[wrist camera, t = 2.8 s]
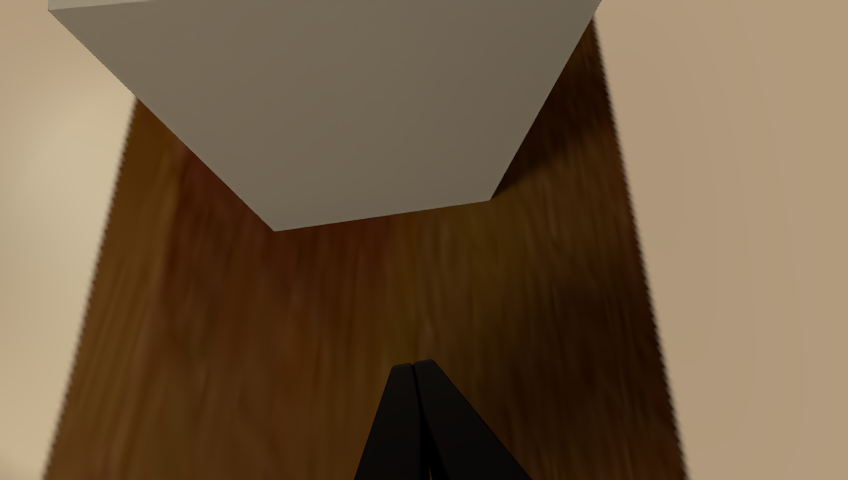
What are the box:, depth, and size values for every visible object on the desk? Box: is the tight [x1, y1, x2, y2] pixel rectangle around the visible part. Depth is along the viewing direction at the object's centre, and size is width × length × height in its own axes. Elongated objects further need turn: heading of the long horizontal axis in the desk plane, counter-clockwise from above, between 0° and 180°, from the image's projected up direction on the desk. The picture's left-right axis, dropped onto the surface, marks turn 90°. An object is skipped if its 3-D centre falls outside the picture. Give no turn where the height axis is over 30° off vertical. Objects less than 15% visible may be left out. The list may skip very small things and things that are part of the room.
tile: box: [48, 0, 601, 231], centre depth 12 cm, size 2×9×11 cm, turn 100°
